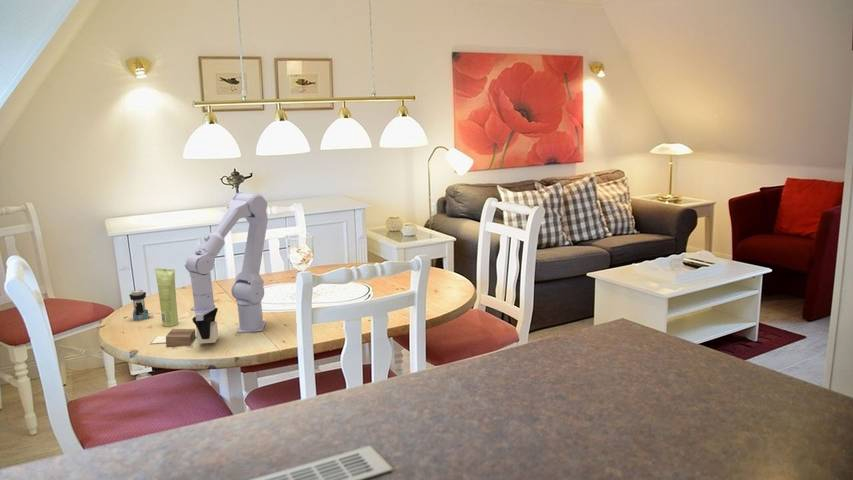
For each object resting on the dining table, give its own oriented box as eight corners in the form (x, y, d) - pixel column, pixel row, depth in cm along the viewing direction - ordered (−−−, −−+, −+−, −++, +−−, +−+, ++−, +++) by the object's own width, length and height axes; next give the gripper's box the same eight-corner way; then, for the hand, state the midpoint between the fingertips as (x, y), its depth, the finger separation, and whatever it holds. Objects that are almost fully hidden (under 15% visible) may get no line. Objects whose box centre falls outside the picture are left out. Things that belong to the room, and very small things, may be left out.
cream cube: (202, 337, 206) (200, 322, 205) (218, 336, 207) (216, 321, 206) (198, 343, 202) (196, 328, 201) (214, 342, 202) (213, 326, 201)
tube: (179, 321, 227) (172, 265, 223) (181, 325, 223) (174, 268, 219) (161, 324, 225) (154, 268, 221) (163, 328, 220) (155, 271, 216)
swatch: (156, 337, 212) (156, 336, 212) (178, 335, 213) (178, 334, 213) (149, 345, 205) (149, 343, 205) (172, 343, 206) (172, 342, 206)
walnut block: (172, 337, 210) (172, 328, 209) (195, 338, 210) (195, 328, 210) (166, 346, 203) (165, 336, 202) (189, 346, 204) (189, 336, 203)
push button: (154, 315, 235) (150, 287, 233) (152, 319, 230) (148, 292, 228) (133, 317, 233) (130, 290, 231) (131, 322, 228) (127, 294, 226)
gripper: (195, 287, 208) (200, 328, 211) (182, 301, 194) (188, 345, 197) (218, 285, 208) (222, 326, 211) (207, 299, 194) (212, 343, 197)
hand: (207, 335), depth 204 cm, fingers closed on cream cube, 5 cm apart
